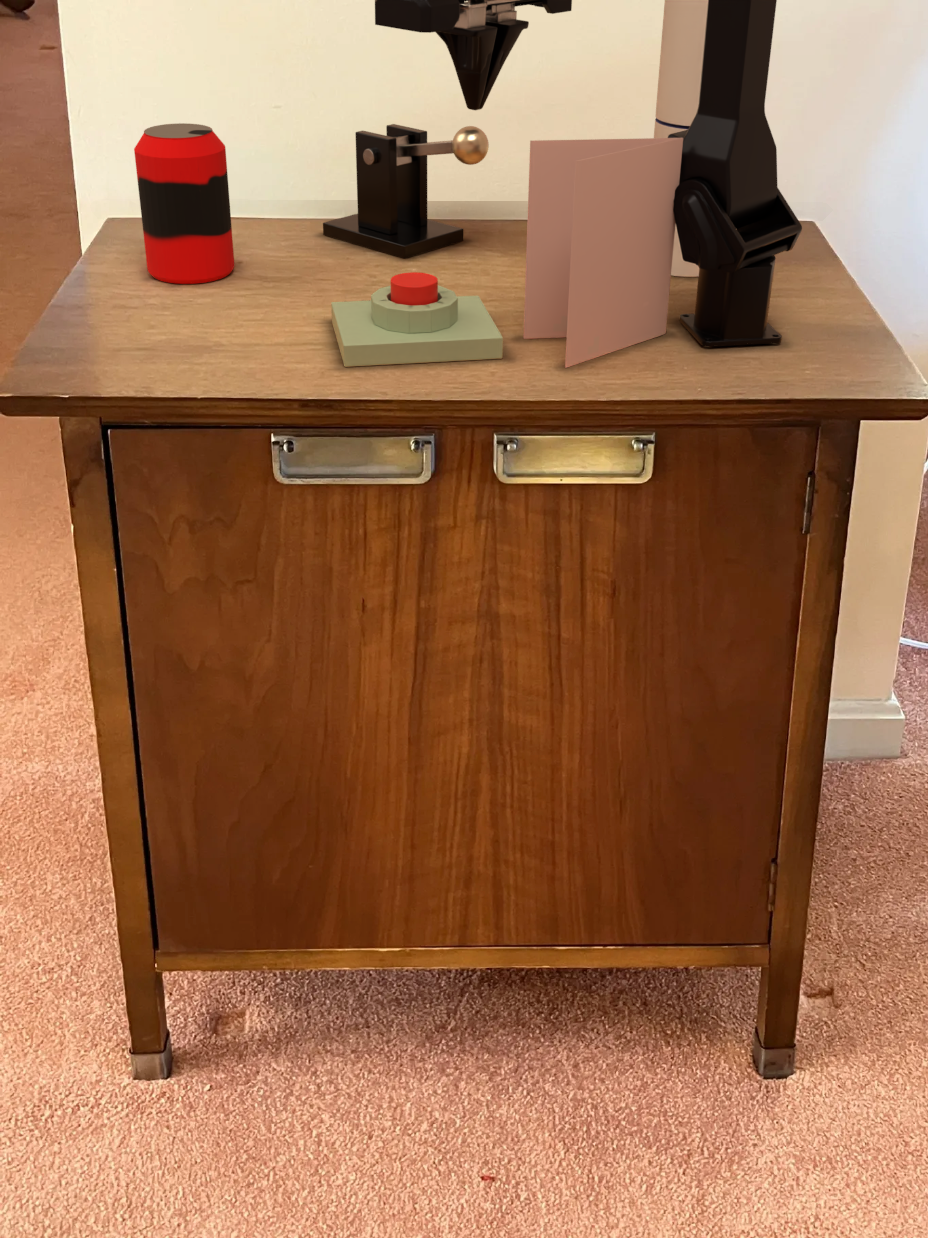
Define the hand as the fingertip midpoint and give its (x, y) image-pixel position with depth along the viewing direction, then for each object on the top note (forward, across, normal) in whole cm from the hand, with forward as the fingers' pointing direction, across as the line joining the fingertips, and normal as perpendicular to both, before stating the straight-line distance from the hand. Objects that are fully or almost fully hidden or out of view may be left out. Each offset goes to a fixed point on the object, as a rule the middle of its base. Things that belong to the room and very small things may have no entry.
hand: (474, 109), depth 118 cm
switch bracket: (+13, 0, -10) cm, 17 cm away
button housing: (+13, +19, +11) cm, 25 cm away
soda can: (+14, +20, -15) cm, 29 cm away
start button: (+10, +19, +11) cm, 24 cm away
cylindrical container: (+13, -13, +15) cm, 23 cm away
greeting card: (+13, +10, +23) cm, 28 cm away
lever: (+6, 0, -5) cm, 8 cm away
